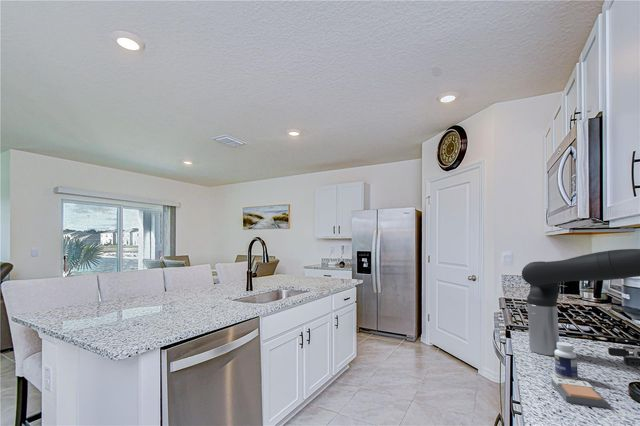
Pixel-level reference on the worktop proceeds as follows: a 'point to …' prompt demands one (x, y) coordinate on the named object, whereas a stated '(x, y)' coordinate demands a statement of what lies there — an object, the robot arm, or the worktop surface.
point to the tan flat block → (578, 392)
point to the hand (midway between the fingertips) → (616, 355)
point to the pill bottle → (565, 361)
